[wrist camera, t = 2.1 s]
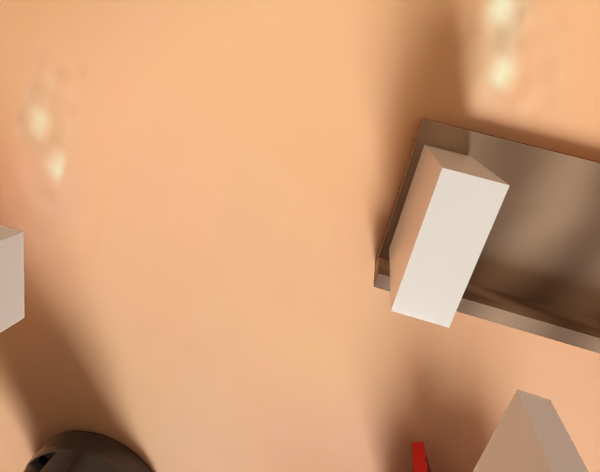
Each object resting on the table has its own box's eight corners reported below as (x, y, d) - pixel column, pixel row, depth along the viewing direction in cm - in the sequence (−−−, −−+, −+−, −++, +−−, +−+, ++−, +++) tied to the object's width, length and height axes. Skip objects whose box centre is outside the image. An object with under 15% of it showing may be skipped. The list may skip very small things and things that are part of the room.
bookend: (389, 249, 30) (390, 310, 21) (424, 144, 27) (442, 167, 19) (430, 261, 29) (448, 328, 21) (470, 156, 27) (509, 185, 18)
